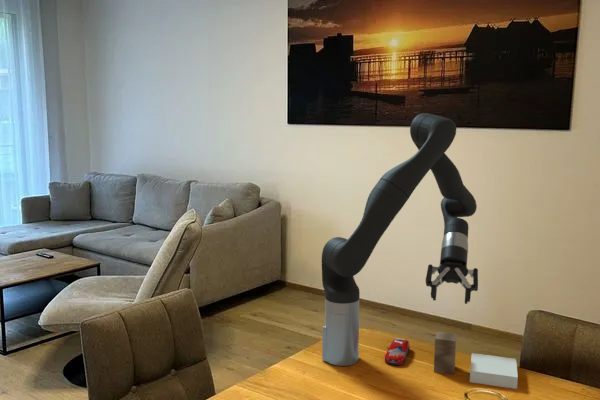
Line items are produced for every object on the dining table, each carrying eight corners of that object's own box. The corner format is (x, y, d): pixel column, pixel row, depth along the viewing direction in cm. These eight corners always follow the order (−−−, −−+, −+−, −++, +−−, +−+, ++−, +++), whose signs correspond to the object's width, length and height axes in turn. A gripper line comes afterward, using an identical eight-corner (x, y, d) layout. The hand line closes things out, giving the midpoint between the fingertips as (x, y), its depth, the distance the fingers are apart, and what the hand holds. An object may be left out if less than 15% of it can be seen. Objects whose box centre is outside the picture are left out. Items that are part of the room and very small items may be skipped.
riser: (469, 382, 138) (470, 370, 137) (471, 363, 148) (471, 353, 148) (517, 389, 134) (517, 377, 134) (515, 369, 145) (516, 358, 144)
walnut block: (433, 371, 143) (435, 338, 142) (435, 363, 148) (436, 331, 147) (453, 374, 142) (455, 341, 141) (455, 366, 147) (456, 333, 145)
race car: (402, 369, 146) (402, 354, 145) (382, 365, 148) (382, 351, 147) (412, 349, 158) (412, 335, 157) (393, 346, 160) (393, 333, 159)
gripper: (428, 242, 162) (423, 292, 153) (480, 246, 158) (477, 297, 149) (430, 255, 168) (424, 304, 159) (479, 259, 163) (476, 309, 154)
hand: (450, 300), depth 154 cm, fingers open, 8 cm apart
